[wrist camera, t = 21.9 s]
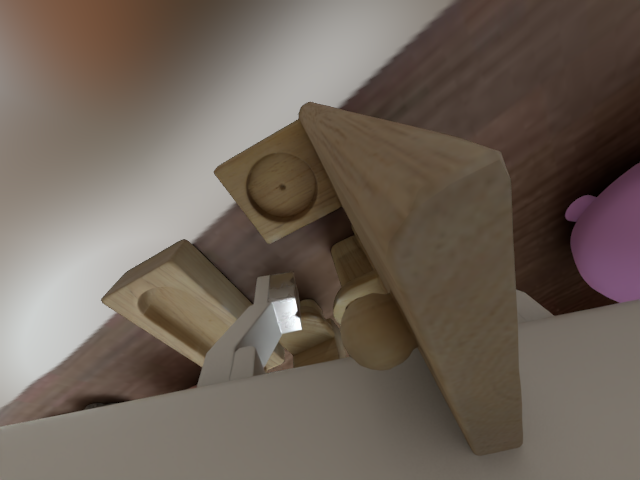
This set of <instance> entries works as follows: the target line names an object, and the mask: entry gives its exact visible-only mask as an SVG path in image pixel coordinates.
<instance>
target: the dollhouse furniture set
mask: <svg viewBox="0 0 640 480" xmlns="http://www.w3.org/2000/svg"><path fill="white" fill-rule="evenodd" d="M214 174H215V175H216V176H217V178H218V179H219V180H220V182H221V183H222V184H223V186H224V187H225V188H226V190H227V191H228V192H229V193H230V195H231V196H232V197H233V199H234V200H235V201H236V203H237V204H238V205H239V207H240V208H241V209H242V210H243V212H244V213H245V214H246V216H247V217H248V218H249V219H250V221H251V222H252V223H253V225H254V226H255V227H256V229H257V230H258V231H259V233H260V234H261V235H262V237H263V238H264V239H265V241H266V242H267V243H268V244H270V243H272V242H274V241H276V240H278V239H280V238H282V237H284V236H286V235H288V234H290V233H292V232H294V231H295V230H297V229H299V228H301V227H304V226H306V225H308V224H310V223H311V222H313V221H315V220H317V219H319V218H321V217H323V216H325V215H327V214H329V213H331V212H333V211H335V210H336V209H338V208H340V207H343V208H344V210H345V212H346V214H347V216H348V218H349V220H350V222H351V223H352V226H351V227H352V230H353V232H354V234H355V235H354V236H351V237H349V238H347V239H344V240H342V241H340V242H338V243H336V244H335V245H334V246H333V247H332V250H331V254H332V258H333V261H334V265H335V268H336V271H337V274H338V277H339V280H340V283H341V287H342V288H341V289H340V290H339V292H338V293H337V295H336V297H335V300H334V306H333V315H334V318H335V319H336V321H337V322H338V323H339V324H340V325H341V326H340V329H339V328H338V327H337V325H336V324H335V323H334V321H333V320H332V319H330V318H329V319H327V320H326V319H325V318H324V315H323V311H322V309H321V308H320V307H319V306H318V305H317V304H316V302H315V301H314V300H311V299H306V300H302V301H301V302H300V314H301V321H302V330H299V331H294V332H290V333H285V334H281V335H282V336H281V338H280V340H279V341H278V343H277V345H276V347H275V349H274V350H273V352H272V354H271V356H270V358H269V359H268V361H267V363H266V365H265V367H264V370H265V373H266V374H267V370H269V369H272V368H274V367H276V366H278V365H280V364H282V363H283V362H284V348H285V349H286V350H287V351H289V352H290V353H291V354H292V355H293V367H294V368H297V367H302V366H307V365H312V364H317V363H322V362H327V361H332V360H337V359H342V358H347V357H346V353H345V349H346V351H347V352H348V354H349V356H350V357H351V358H353V359H354V360H355V361H356V362H357V363H358V364H359V365H360V366H363V367H366V368H369V369H372V370H380V371H382V370H389V369H391V368H393V367H395V366H397V365H399V364H401V363H403V362H404V361H405V360H406V359H407V358H408V357H409V356H410V354H411V353H412V351H413V350H414V349H415V348H418V350H419V352H420V353H421V355H422V357H423V359H424V361H425V363H426V365H427V367H428V368H429V370H430V372H431V374H432V376H433V378H434V380H435V382H436V384H437V385H438V387H439V389H440V391H441V393H442V395H443V397H444V399H445V401H446V403H447V404H448V406H449V408H450V410H451V412H452V414H453V416H454V418H455V420H456V422H457V423H458V425H459V427H460V429H461V431H462V433H463V435H464V437H465V439H466V441H467V442H468V444H469V446H470V448H471V450H472V451H473V453H474V454H475V455H478V456H482V455H487V454H492V453H497V452H501V451H506V450H510V449H514V448H519V447H520V446H521V445H522V444H523V425H522V395H521V383H520V374H519V353H518V317H517V299H516V280H515V262H514V243H513V220H512V193H511V179H510V176H509V174H508V171H507V168H506V165H505V163H504V160H503V157H502V154H501V152H500V151H497V150H494V149H491V148H488V147H485V146H482V145H479V144H477V143H474V142H471V141H468V140H465V139H462V138H459V137H456V136H451V135H447V134H443V133H439V132H434V131H430V130H426V129H422V128H418V127H413V126H409V125H405V124H401V123H397V122H392V121H388V120H384V119H380V118H375V117H371V116H367V115H362V114H358V113H354V112H349V111H346V110H342V109H338V108H334V107H330V106H326V105H321V104H317V103H313V102H308V103H306V104H305V105H303V106H302V107H301V109H300V112H299V119H298V120H296V121H295V122H293V123H291V124H289V125H288V126H286V127H284V128H282V129H281V130H279V131H277V132H275V133H274V134H272V135H271V136H269V137H267V138H265V139H263V140H262V141H260V142H258V143H257V144H255V145H253V146H252V147H250V148H248V149H246V150H245V151H243V152H241V153H239V154H238V155H236V156H234V157H232V158H231V159H229V160H228V161H226V162H224V163H223V164H221V165H219V166H218V167H217V168H216V169H215V171H214ZM101 301H102V303H104V304H105V305H107V306H108V307H109V308H111V309H113V310H114V311H116V312H117V313H119V314H120V315H122V316H123V317H125V318H126V319H128V320H129V321H131V322H133V323H134V324H136V325H137V326H139V327H140V328H142V329H143V330H145V331H147V332H148V333H150V334H151V335H153V336H154V337H156V338H157V339H159V340H161V341H162V342H164V343H165V344H167V345H168V346H170V347H171V348H173V349H174V350H176V351H178V352H179V353H181V354H182V355H184V356H185V357H187V358H189V359H190V360H192V361H193V362H195V363H196V364H198V365H199V366H201V367H203V364H204V360H205V357H206V354H207V352H208V351H209V350H210V349H211V348H212V347H213V346H214V344H215V343H216V342H217V341H218V340H219V339H220V338H221V337H222V336H223V335H224V333H225V332H226V331H227V330H228V329H229V328H230V327H231V326H232V325H233V324H234V323H235V321H236V320H237V319H238V318H239V317H240V316H241V315H242V314H243V313H244V312H245V310H246V309H247V308H248V307H249V306H251V305H253V304H252V303H251V302H250V301H249V300H248V299H247V298H246V297H245V296H244V295H243V294H242V293H241V292H240V291H239V290H238V289H237V288H236V287H235V286H234V285H233V284H232V283H231V282H230V281H229V280H228V279H227V278H226V277H225V276H224V275H223V274H222V273H221V272H220V271H219V270H218V269H217V268H216V267H215V266H214V265H213V264H212V263H211V262H209V261H208V260H207V259H206V258H205V257H204V256H203V255H202V254H201V253H200V252H199V251H198V250H197V249H196V248H195V247H194V246H193V245H192V244H191V243H190V242H189V241H187V240H185V239H183V240H181V241H179V242H177V243H175V244H173V245H172V246H170V247H168V248H166V249H165V250H163V251H161V252H160V253H158V254H157V255H155V256H153V257H151V258H149V259H148V260H146V261H144V262H142V263H141V264H139V265H137V266H136V267H134V268H132V269H130V270H129V271H127V272H126V273H125V274H124V275H123V276H122V277H121V278H120V279H119V280H118V281H117V282H116V283H115V285H114V286H113V287H112V288H111V289H110V290H109V291H108V292H107V293H106V294H105V296H104V297H103V298H102V299H101ZM344 347H345V349H344Z"/></svg>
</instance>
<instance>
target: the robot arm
mask: <svg viewBox="0 0 640 480" xmlns="http://www.w3.org/2000/svg"><path fill="white" fill-rule="evenodd" d="M516 299H517V317H518V353H519V374H520V383H521V395H522V425H523V444H522V445H521V446H520V447H519V448H514V449H510V450H506V451H501V452H497V453H492V454H487V455H482V456H478V455H475V454H474V453H473V451H472V450H471V448H470V446H469V444H468V442H467V441H466V439H465V437H464V435H463V433H462V431H461V429H460V427H459V425H458V423H457V422H456V420H455V418H454V416H453V414H452V412H451V410H450V408H449V406H448V404H447V403H446V401H445V399H444V397H443V395H442V393H441V391H440V389H439V387H438V385H437V384H436V382H435V380H434V378H433V376H432V374H431V372H430V370H429V368H428V367H427V365H426V363H425V361H424V359H423V357H422V355H421V353H420V352H419V350H418V348H415V349H414V350H413V351H412V353H411V354H410V356H409V357H408V358H407V359H406V360H405V361H404V362H403V363H401V364H399V365H397V366H395V367H393V368H391V369H389V370H382V371H380V370H372V369H369V368H366V367H363V366H360V365H359V364H358V363H357V362H356V361H355V360H354V359H353V358H351V357H347V358H342V359H337V360H332V361H327V362H322V363H317V364H312V365H307V366H302V367H297V368H292V369H287V370H282V371H277V372H272V373H267V374H266V373H265V370H264V367H265V365H266V363H267V361H268V359H269V358H270V356H271V354H272V352H273V350H274V349H275V347H276V345H277V343H278V341H279V340H280V338H281V336H282V335H281V334H285V333H290V332H294V331H299V330H302V321H301V314H300V301H299V294H298V289H297V286H296V280H295V275H294V271H293V272H286V273H279V274H273V275H267V276H261V277H258V278H257V282H256V290H255V297H254V304H253V305H251V306H249V307H248V308H247V309H246V310H245V312H244V313H243V314H242V315H241V316H240V317H239V318H238V319H237V320H236V321H235V323H234V324H233V325H232V326H231V327H230V328H229V329H228V330H227V331H226V332H225V333H224V335H223V336H222V337H221V338H220V339H219V340H218V341H217V342H216V343H215V344H214V346H213V347H212V348H211V349H210V350H209V351H208V352H207V354H206V357H205V360H204V364H203V367H202V370H201V374H200V377H199V380H198V384H197V387H196V388H192V389H187V390H182V391H177V392H172V393H167V394H162V395H157V396H152V397H147V398H142V399H137V400H132V401H127V402H122V403H117V404H112V405H107V406H102V407H97V408H92V409H87V410H82V411H77V412H72V413H67V414H62V415H57V416H52V417H47V418H42V419H37V420H32V421H27V422H22V423H17V424H12V425H7V426H1V427H0V480H640V299H637V300H632V301H627V302H622V303H617V304H612V305H607V306H602V307H597V308H592V309H587V310H582V311H577V312H572V313H567V314H562V315H557V316H554V315H553V314H551V313H550V312H549V311H548V310H546V309H545V308H544V307H543V306H541V305H540V304H539V303H537V302H536V301H535V300H534V299H532V298H531V297H530V296H529V295H527V294H526V293H525V292H522V291H519V290H517V289H516Z"/></svg>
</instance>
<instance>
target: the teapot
mask: <svg viewBox="0 0 640 480" xmlns="http://www.w3.org/2000/svg"><path fill="white" fill-rule="evenodd" d="M565 218H566V219H567V220H568V221H573V222H576V224H575V226H574V228H573V230H572V234H571V240H570V245H571V251H572V254H573V258H574V261H575V264H576V266H577V269H578V271H579V273H580V275H581V276H582V278H583V279H584V280H585V281H586V282H587V284H588V285H589V286H590V287H592V288H593V289H594V290H596V291H598V292H599V293H601V294H603V295H604V296H606V297H608V298H610V299H613V300H615V301H617V302H619V303H622V302H627V301H632V300H637V299H640V162H639V163H638V164H636V165H635V166H633V167H632V168H631V169H629V170H628V171H627V172H625V173H624V174H623V175H621V176H620V177H619V178H618V179H616V180H615V181H614V182H613V183H612V184H611V185H609V186H608V187H607V188H606V189H605V190H604V191H603V192H602V193H601V194H600V195H599V196H598V197H594V196H591V195H585V196H582V197H580V198H578V199H576V200H575V201H574V202H573V203H572V204H571V205H570V206H569V207H568V209H567V211H566V214H565Z"/></svg>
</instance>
